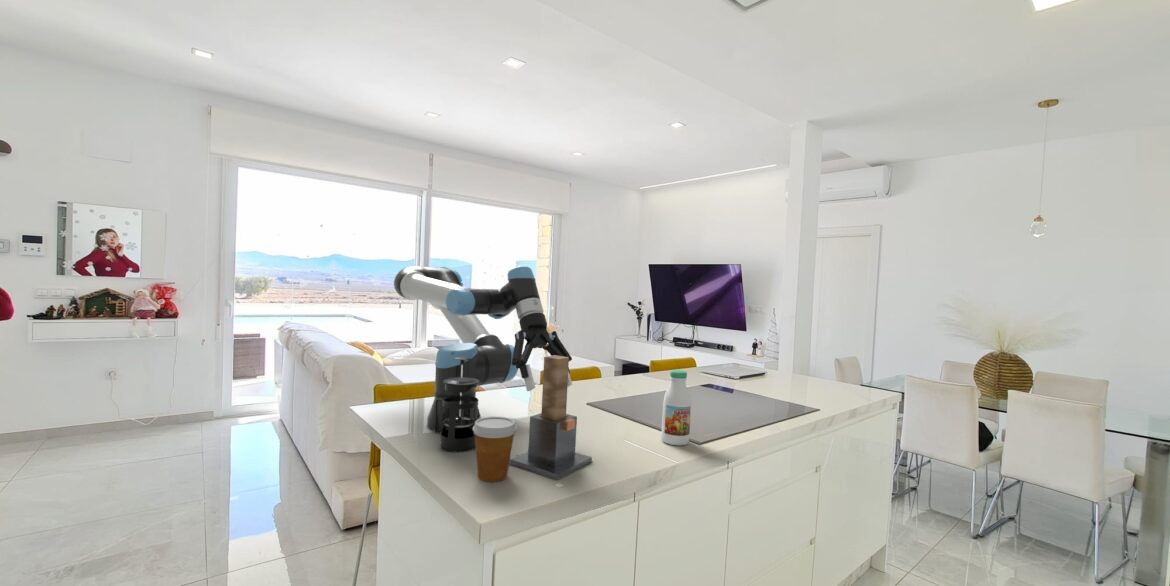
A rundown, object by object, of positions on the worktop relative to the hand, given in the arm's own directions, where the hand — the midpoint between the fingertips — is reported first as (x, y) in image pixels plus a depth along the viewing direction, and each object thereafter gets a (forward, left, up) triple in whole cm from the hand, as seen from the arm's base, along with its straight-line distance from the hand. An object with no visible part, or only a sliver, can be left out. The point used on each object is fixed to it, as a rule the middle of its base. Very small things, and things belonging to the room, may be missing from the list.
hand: (550, 388), depth 132 cm
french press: (-12, -21, -15) cm, 28 cm away
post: (+12, -10, -13) cm, 21 cm away
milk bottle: (+22, +28, -15) cm, 39 cm away
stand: (+12, -10, -14) cm, 22 cm away
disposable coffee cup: (+10, -25, -15) cm, 31 cm away
